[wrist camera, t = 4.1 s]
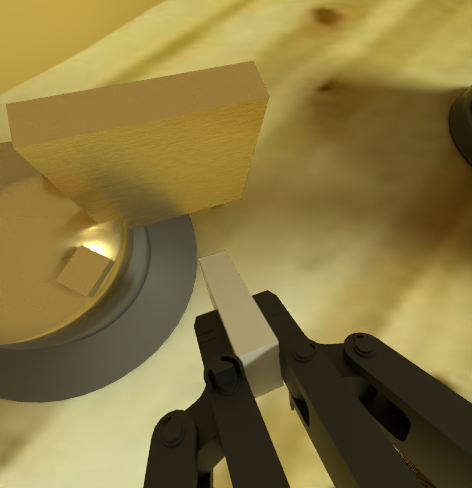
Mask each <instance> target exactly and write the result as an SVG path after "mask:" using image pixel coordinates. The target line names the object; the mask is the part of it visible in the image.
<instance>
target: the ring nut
mask: <svg viewBox="0 0 472 488" xmlns="http://www.w3.org/2000/svg"><path fill="white" fill-rule="evenodd" d="M268 100H269V94H268V92H267V90H266V87H265V85H264V83H263V81H262V79H261V77H260V74H259V72H258V70H257V68H256V66H255V63H254V61H250V62H244V63H238V64H233V65H227V66H221V67H216V68H210V69H204V70H199V71H193V72H187V73H181V74H176V75H170V76H164V77H159V78H153V79H147V80H142V81H136V82H130V83H124V84H119V85H113V86H107V87H102V88H96V89H90V90H85V91H79V92H73V93H68V94H62V95H56V96H50V97H45V98H39V99H33V100H28V101H22V102H16V103H11V104H6V107H7V113H8V119H9V125H10V131H11V137H12V142H5V143H0V345H3V344H12V343H20V342H28V341H35V340H42V339H45V338H49V337H53V336H56V335H59V334H61V333H64V332H66V331H69V330H71V329H72V328H74V327H76V326H78V325H80V324H82V323H83V322H85V321H86V320H87V319H89V318H90V317H92V316H93V315H94V314H95V313H97V312H98V311H99V310H100V309H101V308H102V307H103V306H104V305H105V304H106V303H107V302H108V301H109V300H110V299H111V297H112V296H113V295H114V294H115V292H116V291H117V289H118V288H119V286H120V285H121V283H122V281H123V279H124V277H125V275H126V273H127V271H128V268H129V265H130V262H131V258H132V254H133V245H134V234H133V229H135V228H138V227H142V226H146V225H149V224H153V223H156V222H160V221H163V220H167V219H171V218H174V217H178V216H181V215H185V214H188V213H192V212H196V211H199V210H203V209H206V208H210V207H213V206H217V205H221V204H224V203H228V202H231V201H235V200H238V199H241V196H242V192H243V189H244V185H245V182H246V178H247V175H248V171H249V168H250V164H251V160H252V157H253V153H254V150H255V146H256V143H257V139H258V136H259V132H260V128H261V125H262V121H263V118H264V114H265V111H266V107H267V104H268Z"/></svg>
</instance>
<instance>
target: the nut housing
mask: <svg viewBox="0 0 472 488" xmlns="http://www.w3.org/2000/svg"><path fill="white" fill-rule="evenodd" d="M133 234H134V245H133V254H132V258H131V262H130V265H129V268H128V271H127V273H126V275H125V277H124V279H123V281H122V283H121V285H120V286H119V288H118V289H117V291H116V292H115V294H114V295H113V296H112V297H111V299H110V300H109V301H108V302H107V303H106V304H105V305H104V306H103V307H102V308H101V309H100V310H99V311H98V312H97V313H95V314H94V315H93V316H92V317H90V318H89V319H87V320H86V321H85V322H83V323H82V324H80V325H78V326H76V327H74V328H72V329H71V330H69V331H66V332H64V333H61V334H59V335H56V336H53V337H49V338H45V339H42V340H35V341H28V342H20V343H12V344H3V345H0V398H1V399H7V400H13V401H19V402H41V403H42V402H51V401H60V400H66V399H70V398H74V397H78V396H82V395H85V394H88V393H90V392H93V391H96V390H98V389H101V388H103V387H105V386H107V385H109V384H111V383H113V382H115V381H117V380H118V379H120V378H122V377H123V376H125V375H126V374H128V373H129V372H131V371H132V370H134V369H135V368H137V367H138V366H139V365H141V364H142V363H144V362H145V361H146V360H147V359H148V358H149V357H150V356H151V355H153V354H154V353H155V352H156V351H157V350H158V349H159V348H160V346H161V345H162V344H163V343H164V342H165V341H166V340H167V339H168V337H169V336H170V335H171V333H172V332H173V330H174V329H175V327H176V326H177V325H178V323H179V321H180V319H181V317H182V315H183V314H184V312H185V310H186V308H187V305H188V302H189V300H190V297H191V294H192V291H193V287H194V282H195V278H196V268H197V248H196V242H195V236H194V230H193V227H192V224H191V220H190V217H189V215H188V214H185V215H181V216H178V217H174V218H171V219H167V220H163V221H160V222H156V223H153V224H149V225H146V226H142V227H138V228H135V229H133Z"/></svg>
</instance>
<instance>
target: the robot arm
mask: <svg viewBox="0 0 472 488" xmlns="http://www.w3.org/2000/svg"><path fill="white" fill-rule="evenodd" d="M449 120H450V129H451V133H452V136H453V139H454V141H455V143H456V145H457V147H458V148H459V150H460V152H461V153H462V154H463V156H464V157H465V158H466V159H467V161H468V162H469V163H470V164H471V165H472V86H471V87H470V88H469V89H468V90H466V91H465V92H464V93H463V94H462V95H461V96H460V97H459V98H458V99H457V100H456V101H455V102H454V104H453V106H452V108H451V111H450V119H449ZM199 261H200V265H201V268H202V272H203V275H204V279H205V282H206V285H207V289H208V292H209V296H210V299H211V301H212V304H213V307H214V309H215V310H213V311H211V312H208V313H205V314H202V315H200V316H197V317H196V320H195V324H194V329H195V333H196V337H197V341H198V345H199V349H200V353H201V357H202V361H203V365H204V381H205V383H206V387H205V389H204V392H203V393H202V395H201V396H200V398H199V399H198V400H197V401H196V402H195V403H194V404H192V405H191V406H190V407H189V408H188V409H186V410H185V411H184V410H174V411H172V412H169V413H167V414H166V415H165V416H164V417H162V418H161V419H160V421H159V422H158V424H157V425H156V426H155V429H154V432H153V435H152V438H151V444H150V450H149V456H148V462H147V468H146V474H145V480H144V486H143V488H213V468H214V467H215V466H216V465H217V464H218V463H219V462H220V461H221V460H222V459H223V458H224V457H226V461H227V465H228V469H229V473H230V477H231V481H232V485H233V488H290V486H289V483H288V481H287V478H286V476H285V473H284V471H283V468H282V466H281V463H280V461H279V458H278V456H277V453H276V451H275V448H274V446H273V443H272V441H271V438H270V436H269V433H268V431H267V428H266V426H265V423H264V421H263V418H262V416H261V413H260V411H259V408H258V406H257V403H256V400H255V398H257V397H259V396H261V395H263V394H266V393H268V392H270V391H272V390H275V389H277V388H279V387H281V386H284V385H283V380H284V382H285V384H286V386H287V388H288V390H289V399H290V406H291V409H292V410H294V407H295V409H296V411H297V413H298V415H299V417H300V419H301V421H302V423H303V425H304V427H305V429H306V431H307V433H308V435H309V437H310V439H311V441H312V443H313V445H314V447H315V448H316V450H317V452H318V454H319V456H320V458H321V460H322V462H323V464H324V466H325V468H326V470H327V472H328V474H329V476H330V478H331V480H332V482H333V484H334V486H335V488H424V486H423V485H422V484H421V482H420V481H419V480H418V478H417V477H416V476H415V474H414V473H413V472H412V470H411V469H410V468H409V466H408V465H407V464H406V462H405V461H404V460H403V458H402V457H401V455H400V454H399V453H398V451H397V450H396V449H395V447H396V448H397V449H398V450H399V451H400V452H401V453H402V454H403V455H404V456H405V457H406V458H407V459H408V460H409V461H410V462H411V463H412V464H413V465H414V466H416V467H417V468H418V469H419V470H420V471H421V472H422V473H423V474H424V475H425V476H426V477H427V478H428V479H429V480H430V481H431V482H432V483H433V484H434V485H435V486H436V487H437V488H472V403H470V402H469V401H467V400H466V399H464V398H463V397H461V396H460V395H459V394H457V393H456V392H454V391H453V390H451V389H450V388H448V387H447V386H446V385H444V384H443V383H441V382H440V381H438V380H437V379H435V378H434V377H432V376H431V375H430V374H428V373H427V372H425V371H424V370H422V369H421V368H419V367H418V366H416V365H415V364H414V363H412V362H411V361H409V360H408V359H406V358H405V357H403V356H402V355H400V354H399V353H398V352H396V351H395V350H393V349H392V348H390V347H389V346H387V345H386V344H385V343H383V342H382V341H380V340H379V339H377V338H376V337H374V336H372V335H370V334H366V333H353V334H351V335H349V336H348V337H347V338H346V339H345V341H344V343H340V344H319V343H316V342H315V341H312V340H310V339H309V338H307V337H306V335H305V334H304V333H303V332H302V330H301V329H300V328H299V326H298V325H297V323H296V322H295V321H294V319H293V318H292V316H291V315H290V314H289V312H288V311H287V310H286V308H285V307H284V305H282V303H281V301H280V300H279V298H278V297H277V296H276V295H275V294H273V293H272V292H270V291H268V290H267V291H264V292H261V293H258V294H256V295H253V296H252V295H251V294H250V292H249V290H248V289H247V287H246V285H245V284H244V282H243V280H242V278H241V277H240V275H239V273H238V272H237V270H236V268H235V267H234V265H233V263H232V262H231V260H230V258H229V256H228V255H227V253H226V251H225V250H224V251H221V252H218V253H215V254H212V255H209V256H206V257H202V258H199ZM392 444H393V445H394V446H395V447H394V446H393V445H392Z"/></svg>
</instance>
